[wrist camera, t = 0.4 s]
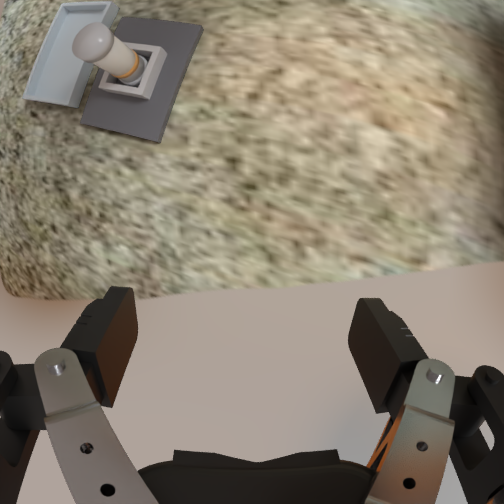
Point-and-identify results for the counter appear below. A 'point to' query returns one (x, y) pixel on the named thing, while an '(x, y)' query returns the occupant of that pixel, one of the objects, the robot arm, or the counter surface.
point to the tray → (66, 55)
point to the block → (144, 79)
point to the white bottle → (109, 53)
